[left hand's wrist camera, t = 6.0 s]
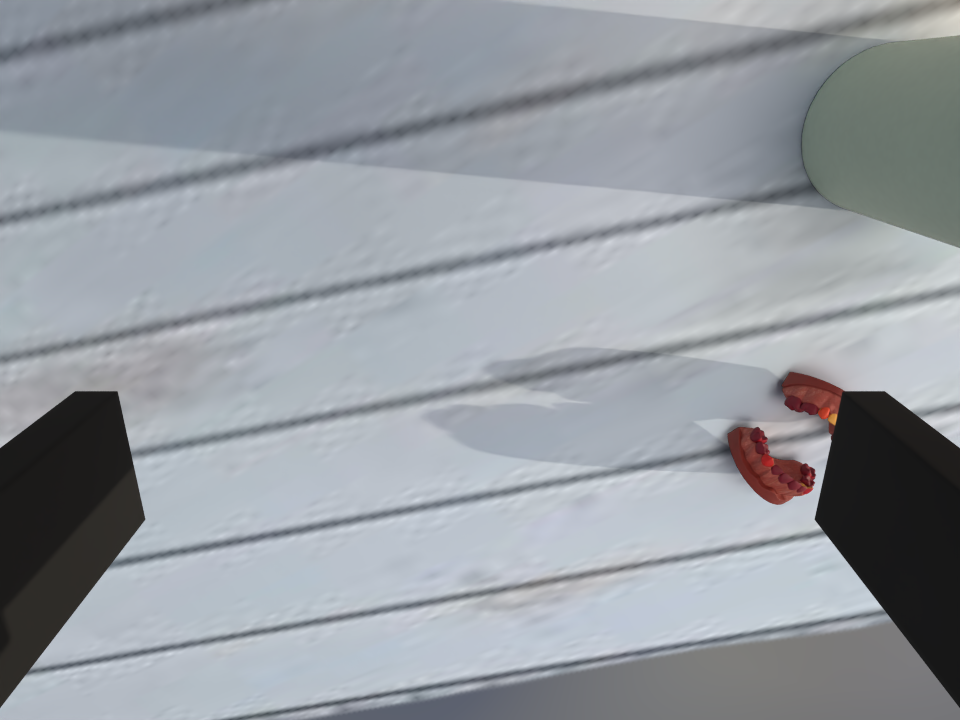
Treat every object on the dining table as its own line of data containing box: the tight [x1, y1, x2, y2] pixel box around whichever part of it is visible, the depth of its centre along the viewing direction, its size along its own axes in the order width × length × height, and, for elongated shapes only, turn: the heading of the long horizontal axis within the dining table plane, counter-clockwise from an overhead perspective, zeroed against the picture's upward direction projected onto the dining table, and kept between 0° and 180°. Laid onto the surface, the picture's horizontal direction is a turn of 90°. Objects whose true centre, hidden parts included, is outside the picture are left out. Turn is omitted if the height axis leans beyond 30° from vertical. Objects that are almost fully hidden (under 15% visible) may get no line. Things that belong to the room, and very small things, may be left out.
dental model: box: [728, 372, 843, 505], centre depth 42 cm, size 6×4×8 cm
